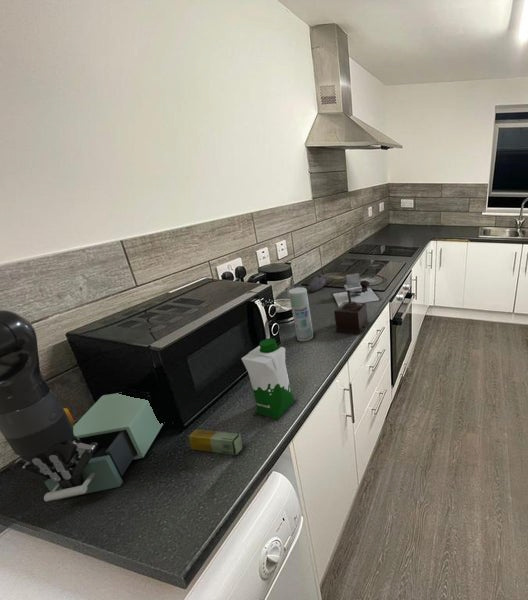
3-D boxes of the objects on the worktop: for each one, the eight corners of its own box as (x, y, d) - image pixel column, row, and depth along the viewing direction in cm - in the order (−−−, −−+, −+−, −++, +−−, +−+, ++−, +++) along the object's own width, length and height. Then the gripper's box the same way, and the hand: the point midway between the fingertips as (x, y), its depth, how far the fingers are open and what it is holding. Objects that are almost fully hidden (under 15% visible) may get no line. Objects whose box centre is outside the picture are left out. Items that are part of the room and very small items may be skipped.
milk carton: (298, 400, 92) (287, 340, 85) (277, 422, 84) (262, 358, 77) (274, 394, 95) (260, 335, 87) (251, 415, 87) (234, 352, 80)
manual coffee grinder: (361, 334, 128) (357, 292, 121) (335, 332, 130) (330, 290, 123) (373, 317, 142) (370, 279, 135) (350, 315, 144) (346, 278, 137)
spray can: (297, 342, 123) (288, 294, 116) (296, 335, 129) (288, 288, 121) (314, 339, 125) (307, 291, 118) (313, 332, 131) (305, 286, 123)
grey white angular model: (379, 299, 160) (378, 278, 156) (338, 306, 154) (336, 284, 150) (370, 288, 177) (368, 267, 173) (332, 293, 171) (330, 273, 166)
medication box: (243, 447, 77) (241, 433, 76) (236, 455, 75) (234, 441, 74) (199, 441, 79) (195, 428, 78) (190, 449, 76) (187, 435, 75)
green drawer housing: (143, 457, 75) (128, 426, 72) (80, 470, 73) (61, 438, 69) (168, 415, 88) (157, 386, 85) (116, 424, 86) (102, 395, 82)
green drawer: (108, 506, 64) (92, 478, 61) (38, 521, 61) (19, 493, 58) (149, 438, 80) (138, 413, 77) (96, 448, 77) (82, 423, 74)
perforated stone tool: (313, 294, 170) (311, 282, 168) (304, 293, 172) (303, 281, 170) (328, 285, 183) (327, 273, 180) (321, 284, 185) (319, 273, 182)
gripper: (91, 399, 61) (124, 465, 68) (6, 413, 59) (49, 480, 65) (63, 428, 55) (103, 497, 61) (-34, 445, 52) (19, 515, 59)
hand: (75, 488), depth 63 cm, fingers closed
